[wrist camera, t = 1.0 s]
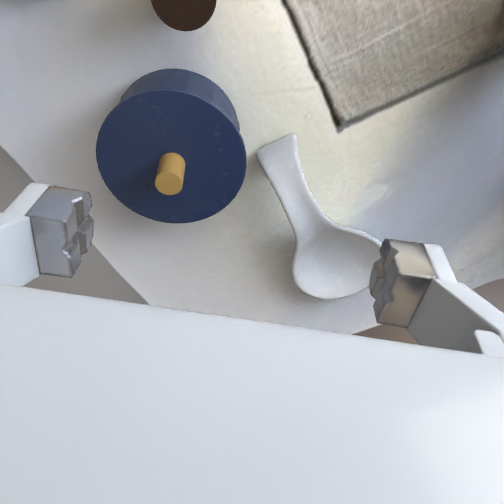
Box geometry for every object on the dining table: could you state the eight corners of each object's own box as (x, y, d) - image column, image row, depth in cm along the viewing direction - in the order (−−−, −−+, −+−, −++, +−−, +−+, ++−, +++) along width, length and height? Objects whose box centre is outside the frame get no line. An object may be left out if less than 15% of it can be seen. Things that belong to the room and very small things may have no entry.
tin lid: (68, 153, 43) (53, 179, 39) (168, 50, 37) (162, 69, 34) (177, 238, 50) (173, 267, 46) (275, 161, 44) (279, 188, 41)
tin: (91, 125, 48) (75, 156, 43) (175, 39, 43) (168, 63, 38) (181, 200, 54) (176, 235, 49) (263, 133, 49) (267, 164, 44)
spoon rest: (391, 260, 62) (407, 299, 56) (311, 293, 65) (319, 332, 59) (321, 113, 48) (333, 146, 42) (224, 164, 51) (223, 200, 46)
